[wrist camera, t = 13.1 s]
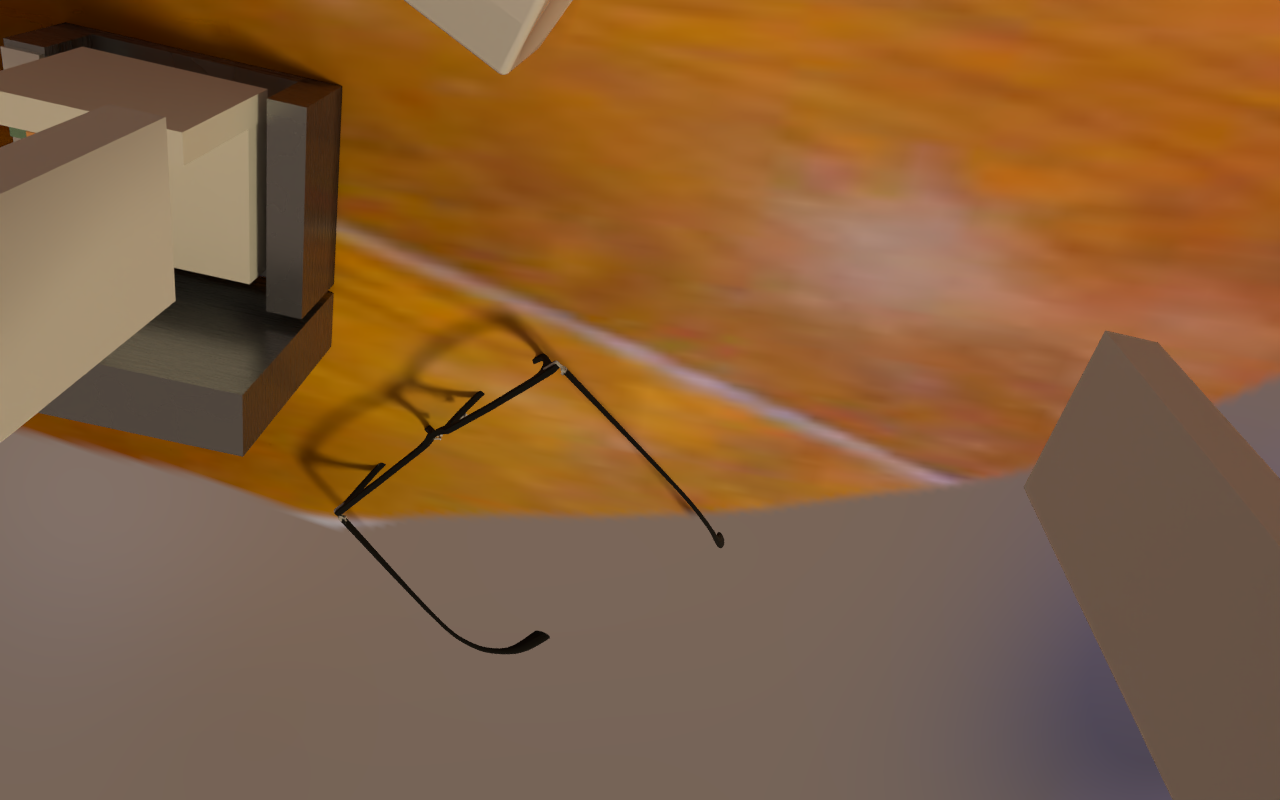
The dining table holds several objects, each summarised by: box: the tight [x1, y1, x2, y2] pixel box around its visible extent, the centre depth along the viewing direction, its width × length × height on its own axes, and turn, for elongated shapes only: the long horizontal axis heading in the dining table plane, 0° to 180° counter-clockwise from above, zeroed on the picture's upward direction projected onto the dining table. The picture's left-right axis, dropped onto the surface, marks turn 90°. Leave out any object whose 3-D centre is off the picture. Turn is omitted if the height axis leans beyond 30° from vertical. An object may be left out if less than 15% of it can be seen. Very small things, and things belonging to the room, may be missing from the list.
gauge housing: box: [0, 23, 342, 456], centre depth 39 cm, size 13×12×10 cm
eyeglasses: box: [334, 354, 724, 654], centre depth 50 cm, size 16×16×4 cm
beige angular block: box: [0, 47, 268, 284], centre depth 38 cm, size 8×8×8 cm
